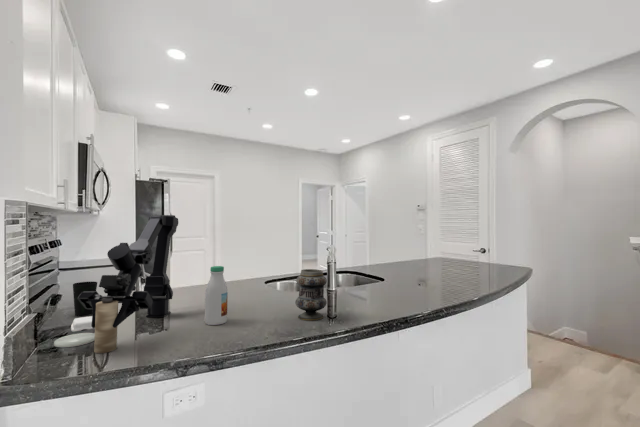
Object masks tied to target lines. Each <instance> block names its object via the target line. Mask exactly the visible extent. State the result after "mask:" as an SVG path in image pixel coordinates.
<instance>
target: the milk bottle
mask: <svg viewBox="0 0 640 427" xmlns="http://www.w3.org/2000/svg"><path fill="white" fill-rule="evenodd" d="M224 269H225V267H224V266H222V265H216V266H215V265H213V266H211V267H210V269H209V270H210V278H209V280H208V281H207V285H206V287H205V293H204V294H205V298H204V323H205V325H207V326H208V325H209V326H216V325H217V326H218V325H223V324H225V323H227V322H228V296H229V294H228V293H229V292H228V285H227V283H226V280H225V277H224V271H225V270H224Z"/></svg>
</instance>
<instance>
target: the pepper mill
mask: <svg viewBox="0 0 640 427" xmlns="http://www.w3.org/2000/svg"><path fill="white" fill-rule="evenodd" d="M118 313H119V303H118V301H117V300H113V297H106V298H102V301H101V302H98V303H96V316H95V328H94V333H95V340H94V341H93V342H94V343H93V348H94V349H93V353H95V354H105V353H110V352H113V351H115V350H117V347H118V346H117V345H118V343H117V342H118V326H117V327H116V328H114V327H113V324H114V321H115V319H116V317H117V315H118Z"/></svg>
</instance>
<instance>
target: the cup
mask: <svg viewBox="0 0 640 427" xmlns="http://www.w3.org/2000/svg"><path fill="white" fill-rule="evenodd" d="M97 288H98V281H81V282H80V281H79V282H76V283H75V282H74V283H73V284H72V291H73V292H72V293H73V305H74V306H73V307H74V316H75V317H88V316H92V315H93V309H85V308H84V306H83V305H82V304H81V303H80V302H79V300H78V297H79V295H80V294H81V293H82V292H84V291H97Z"/></svg>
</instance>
